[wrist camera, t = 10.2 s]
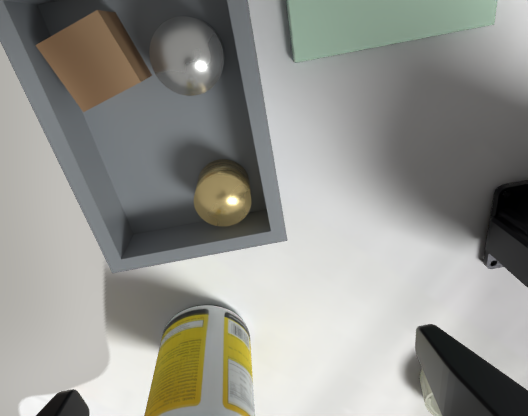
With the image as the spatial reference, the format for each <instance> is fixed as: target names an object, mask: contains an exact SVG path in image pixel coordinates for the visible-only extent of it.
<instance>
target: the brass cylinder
mask: <svg viewBox="0 0 528 416" xmlns="http://www.w3.org/2000/svg"><path fill="white" fill-rule="evenodd" d="M194 206H195V209H196V211H197V213H198V215H199V216H200V217H201V218H202V219H203V220H204V221H206V222H207V223H209V224H212V225H215V226H231V225H234V224H236V223H238V222H240V221H241V220H243V219H244V218H245V217H246V216H247V214H248V212H249V210H250V207H251V192H250V182H249V177H248V174H247V172H246V171H245V169H244V168H243V167H242V166H241V165H240V164H238V163H236V162H234V161H232V160H227V159H219V160H215V161H212V162H210V163H208V164H207V165H206V166H205V167H204V168H203V169H202V170H201V172H200V174H199V178H198V182H197V186H196V190H195V195H194Z"/></svg>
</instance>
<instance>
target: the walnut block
mask: <svg viewBox="0 0 528 416" xmlns="http://www.w3.org/2000/svg"><path fill="white" fill-rule="evenodd" d="M36 47H37V48H38V50H39V51H40V52H41V54H42V55H43V56H44V58H45V59H46V61H47V62H48V63H49V65H50V66H51V68H52V69H53V70H54V72H55V73H56V75H57V76H58V77H59V79H60V80H61V82H62V83H63V84H64V86H65V87H66V89H67V90H68V91H69V93H70V94H71V96H72V97H73V98H74V100H75V101H76V103H77V104H78V105H79V107H80V108H81V110H82V111H83V112H85V111H87V110H89V109H91V108H93V107H95V106H96V105H98V104H100V103H102V102H104V101H106V100H108V99H110V98H112V97H114V96H115V95H117V94H119V93H121V92H123V91H125V90H127V89H129V88H131V87H133V86H134V85H136V84H138V83H140V82H142V81H144V80H145V79H147V78H149V77H150V76H152V74H151V72H150V70H149V69H148V67H147V65H146V64H145V62H144V60H143V58H142V57H141V55H140V53H139V52H138V50H137V48H136V46H135V45H134V43H133V41H132V40H131V38H130V36H129V35H128V33H127V31H126V29H125V28H124V26H123V24H122V23H121V21H120V19H119V17H118V16H117V14H116V12H109V11H101V10H96V11H95V12H93V13H91V14H89V15H88V16H86V17H84V18H82V19H81V20H79V21H77V22H75V23H74V24H72V25H70V26H68V27H67V28H65V29H63V30H61V31H60V32H58V33H56V34H54V35H53V36H51V37H49V38H47V39H46V40H44V41H42V42H40V43H38V44H37V45H36Z"/></svg>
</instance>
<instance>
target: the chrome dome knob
mask: <svg viewBox="0 0 528 416" xmlns="http://www.w3.org/2000/svg"><path fill="white" fill-rule="evenodd" d="M149 55H150V62H151V65H152V68H153V71H154V73H155V75H156V76H157V78H158V79H159V80H160V82H161V83H162V84H163V85H164V86H165V87H167V88H168V89H170V90H171V91H173V92H175V93H177V94H181V95H185V96H195V95H200V94H202V93H205V92H207V91H208V90H210V89H211V88H212V87H213V86H214V85H215V84H216V83H217V81H218V80H219V78H220V76H221V73H222V70H223V66H224V61H225V52H224V47H223V44H222V41H221V39H220V37H219V35H218V34H217V32H216V31H215V30H214V29H213V28H212V27H211V26H210V25H209V24H207V23H206V22H204V21H202V20H199V19H196V18H192V17H186V16H180V17H174V18H171V19H169V20H167V21H165V22H164V23H162V24H161V25H160V26H159V27H158V29H157V30H156V31H155V33H154V35H153V37H152V39H151V43H150V50H149Z"/></svg>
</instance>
